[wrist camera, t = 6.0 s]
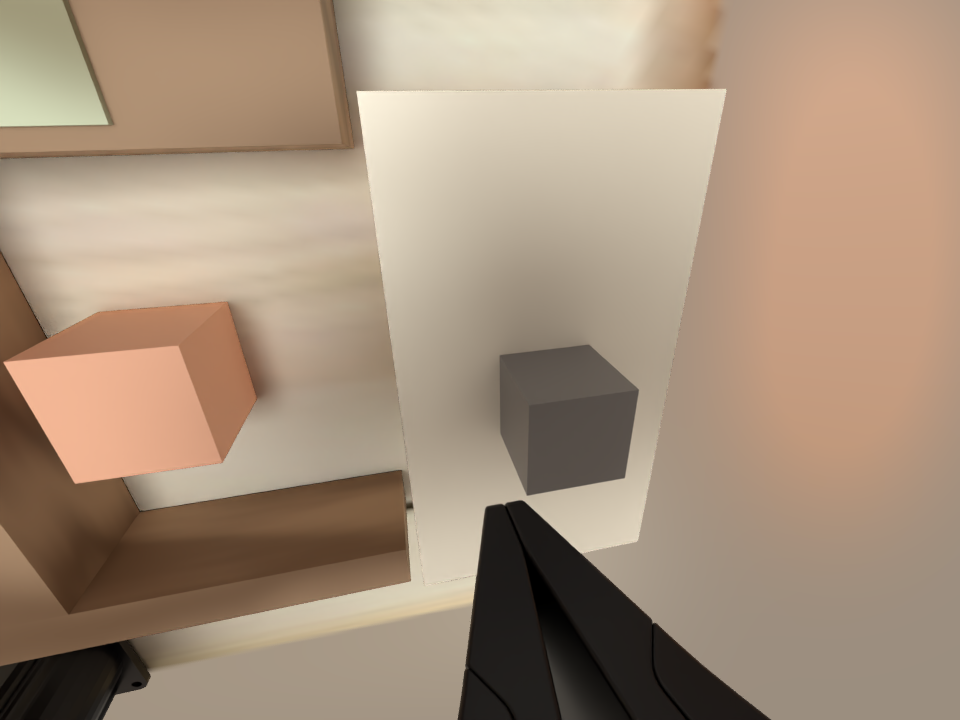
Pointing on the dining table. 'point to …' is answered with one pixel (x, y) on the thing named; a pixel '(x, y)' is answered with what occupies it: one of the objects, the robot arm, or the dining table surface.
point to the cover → (534, 297)
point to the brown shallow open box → (13, 329)
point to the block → (139, 390)
